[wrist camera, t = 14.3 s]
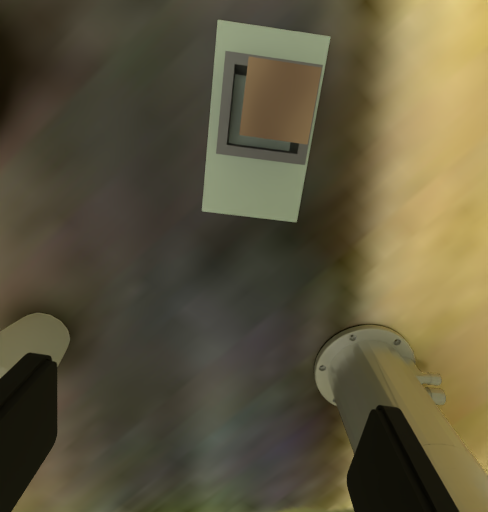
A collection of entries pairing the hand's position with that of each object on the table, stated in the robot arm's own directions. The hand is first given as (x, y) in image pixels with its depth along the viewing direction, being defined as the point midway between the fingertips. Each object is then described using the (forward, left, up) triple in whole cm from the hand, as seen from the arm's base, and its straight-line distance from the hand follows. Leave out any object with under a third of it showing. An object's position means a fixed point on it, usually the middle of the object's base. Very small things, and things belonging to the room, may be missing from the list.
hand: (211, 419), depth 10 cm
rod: (-2, -10, -27) cm, 29 cm away
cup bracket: (-2, -8, -28) cm, 29 cm away
